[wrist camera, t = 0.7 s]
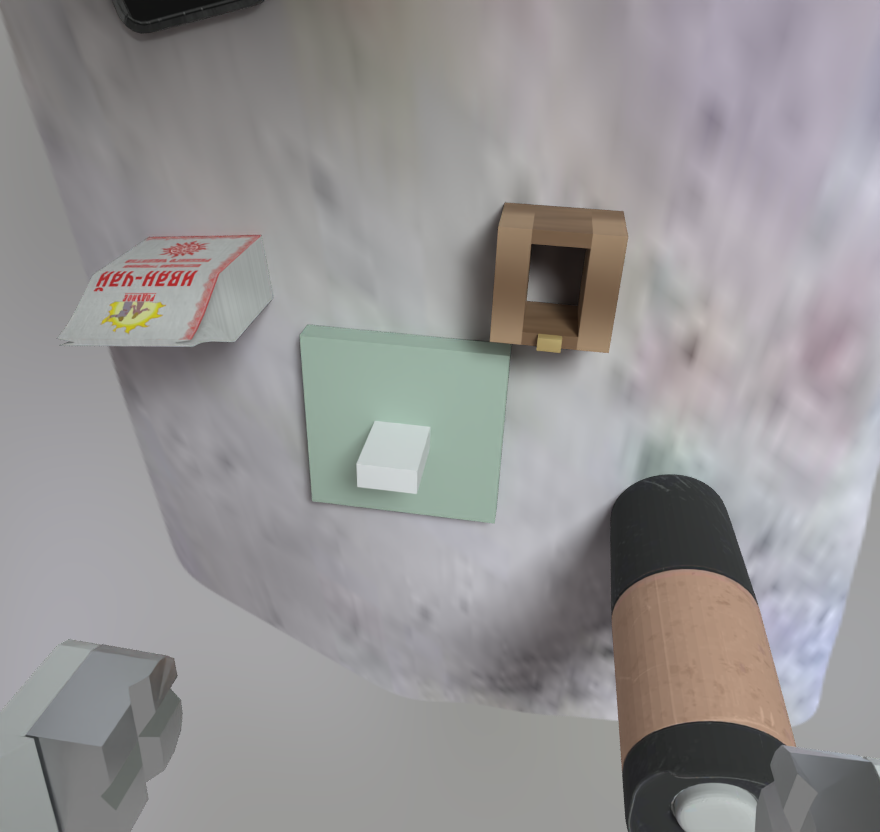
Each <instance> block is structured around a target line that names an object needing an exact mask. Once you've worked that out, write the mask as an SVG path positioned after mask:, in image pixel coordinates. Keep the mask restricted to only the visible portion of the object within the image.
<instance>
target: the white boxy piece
mask: <svg viewBox="0 0 880 832" xmlns="http://www.w3.org/2000/svg"><path fill="white" fill-rule="evenodd" d="M273 298H274V297H273V292H272V287H271V281H270V276H269V271H268V266H267V261H266V256H265V250H264V245H263V240H262V235H246V236H188V237H149V238H147V239H146V240H144V241H143V242H141V243H140V244H138V245H137V246H135V247H134V248H132V249H131V250H129V251H128V252H126V253H125V254H123V255H122V256H120V257H119V258H117V259H116V260H114V261H113V262H111V263H110V264H108V265H107V266H105V267H104V268H102V269H101V270H99V271H98V272H96V273H95V274H93V276H92V278H91V280H90V282H89V284H88V286H87V288H86V290H85V292H84V294H83V296H82V298H81V300H80V302H79V304H78V306H77V308H76V310H75V312H74V314H73V316H72V317H71V319H70V321H69V322H68V324H67V326H66V328H65V329H64V330H63V331H62V333H61V334H60V335H59V336H58V337H57V339H60V340H66V341H69V342H67V343H64V344H62V345H60V346H165V347H193V346H195V345H197V344H199V343H204V342H235V341H236V340H237V339H238V338H239V337H240V335H241V334H242V333H243V332H244V331H245V330H246V329H247V327H248V326H249V325H250V324H251V323H252V322H253V320H254V319H255V318H256V317H257V316H258V315H259V314H260V312H261V311H262V310H263V309H264V308H265V307H266V306H267V304H268V303H269V302H270V301H271V300H272V299H273Z"/></svg>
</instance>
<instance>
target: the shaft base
mask: <svg viewBox="0 0 880 832" xmlns="http://www.w3.org/2000/svg"><path fill="white" fill-rule="evenodd" d="M511 345H512V344H504V343H493V342H483V341H472V340H462V339H451V338H441V337H430V336H420V335H409V334H399V333H389V332H378V331H368V330H357V329H347V328H336V327H326V326H315V325H307V326H306V328H305V329H304V330H303V332H302V333H301V335H300V348H301V361H302V374H303V387H304V400H305V413H306V426H307V439H308V453H309V466H310V479H311V492H312V501H315V502H323V503H331V504H339V505H348V506H356V507H364V508H372V509H380V510H388V511H397V512H405V513H413V514H421V515H429V516H437V517H446V518H454V519H462V520H470V521H478V522H486V523H495V516H496V509H497V499H498V488H499V477H500V466H501V455H502V444H503V433H504V422H505V411H506V400H507V389H508V378H509V367H510V356H511Z"/></svg>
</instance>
